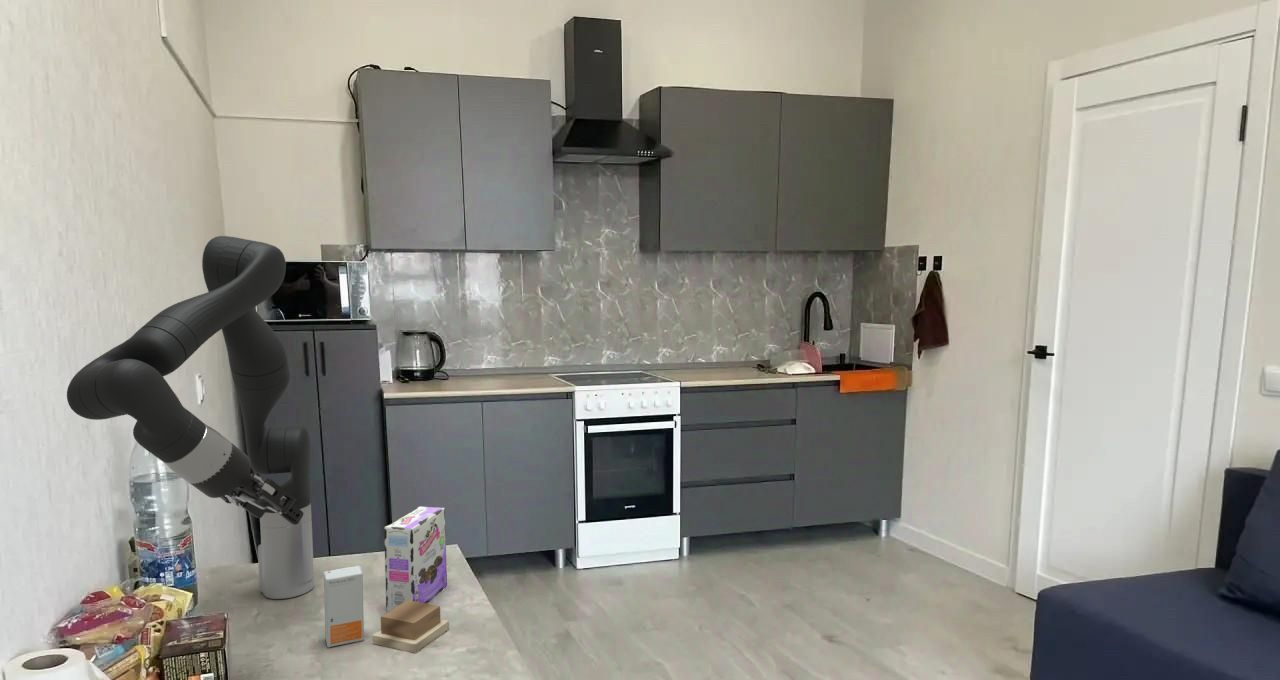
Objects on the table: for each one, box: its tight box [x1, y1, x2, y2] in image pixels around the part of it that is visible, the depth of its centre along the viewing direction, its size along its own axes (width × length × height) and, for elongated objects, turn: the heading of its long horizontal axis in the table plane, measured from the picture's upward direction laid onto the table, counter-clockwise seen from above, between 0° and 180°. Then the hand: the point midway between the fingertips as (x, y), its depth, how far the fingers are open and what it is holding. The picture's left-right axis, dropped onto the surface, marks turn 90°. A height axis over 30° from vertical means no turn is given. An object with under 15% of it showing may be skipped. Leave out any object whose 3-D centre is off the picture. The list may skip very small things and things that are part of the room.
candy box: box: [383, 506, 448, 613], centre depth 140 cm, size 14×6×16 cm, turn 168°
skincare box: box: [323, 565, 365, 648], centre depth 124 cm, size 6×4×12 cm
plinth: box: [371, 600, 450, 654], centre depth 126 cm, size 9×9×4 cm
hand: (280, 516), depth 115 cm, fingers open, 8 cm apart
